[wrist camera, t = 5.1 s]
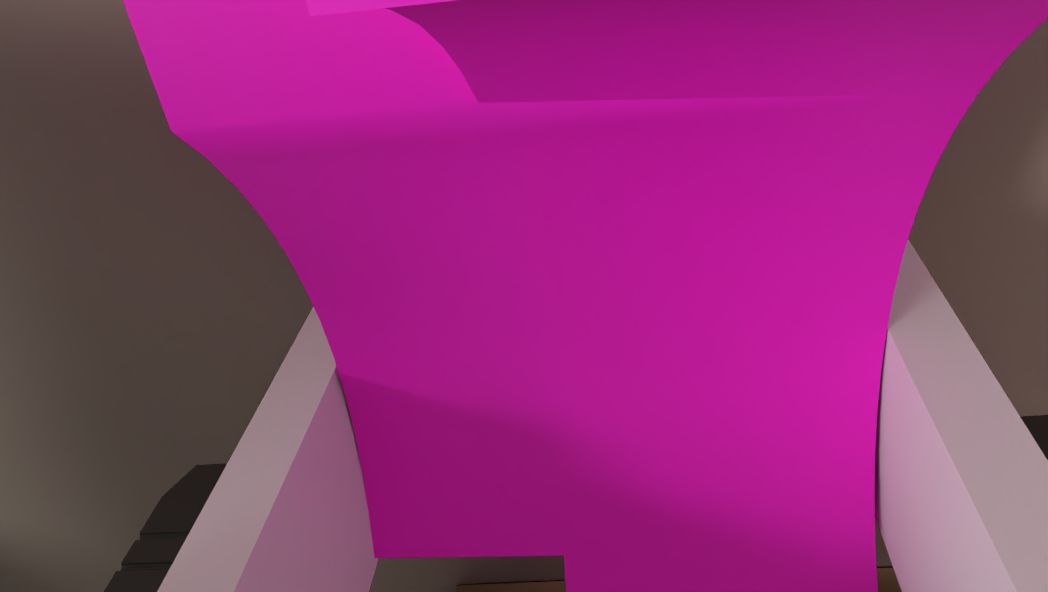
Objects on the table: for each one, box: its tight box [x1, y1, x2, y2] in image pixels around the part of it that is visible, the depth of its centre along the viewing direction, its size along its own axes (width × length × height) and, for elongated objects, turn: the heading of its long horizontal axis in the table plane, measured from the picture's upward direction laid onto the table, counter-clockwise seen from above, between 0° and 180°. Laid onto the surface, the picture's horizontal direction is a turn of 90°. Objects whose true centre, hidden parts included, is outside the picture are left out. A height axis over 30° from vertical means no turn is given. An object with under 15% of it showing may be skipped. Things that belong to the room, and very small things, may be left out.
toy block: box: [123, 0, 1048, 592], centre depth 9 cm, size 15×6×8 cm, turn 7°
